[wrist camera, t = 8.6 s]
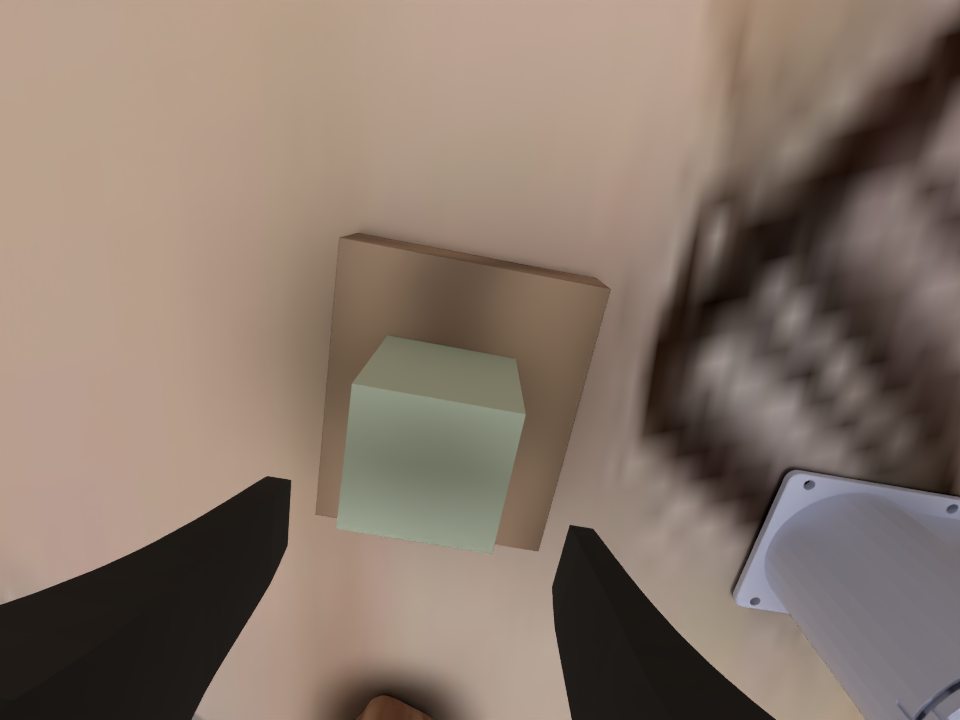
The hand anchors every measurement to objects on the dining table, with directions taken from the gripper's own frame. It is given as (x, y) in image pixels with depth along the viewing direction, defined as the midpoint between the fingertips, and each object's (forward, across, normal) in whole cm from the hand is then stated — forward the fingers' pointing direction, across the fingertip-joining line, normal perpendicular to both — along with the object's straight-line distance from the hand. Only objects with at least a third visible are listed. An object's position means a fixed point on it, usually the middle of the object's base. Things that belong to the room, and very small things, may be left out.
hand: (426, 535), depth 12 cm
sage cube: (+7, 0, 0) cm, 7 cm away
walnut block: (+10, 0, 0) cm, 10 cm away
